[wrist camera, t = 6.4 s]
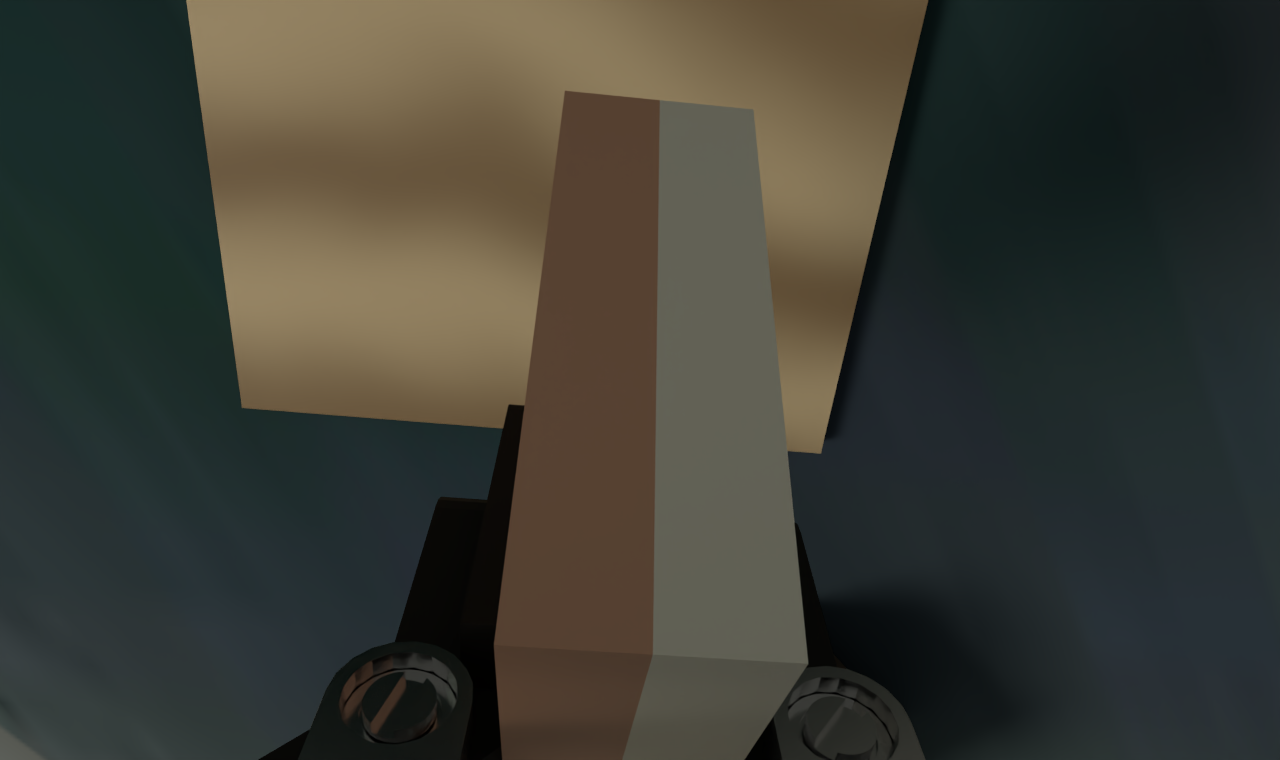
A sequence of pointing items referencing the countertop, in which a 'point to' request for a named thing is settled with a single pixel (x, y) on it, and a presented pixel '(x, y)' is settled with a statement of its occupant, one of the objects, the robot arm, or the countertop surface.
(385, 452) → the countertop surface
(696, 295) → the slab
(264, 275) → the mat
